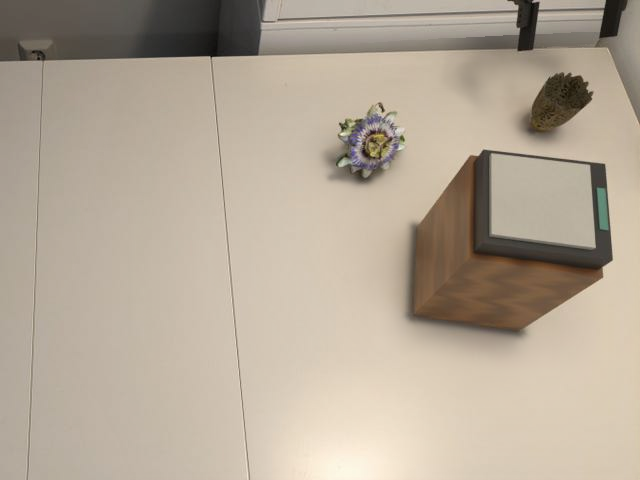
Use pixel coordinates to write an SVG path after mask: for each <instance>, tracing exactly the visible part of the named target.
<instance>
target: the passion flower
mask: <svg viewBox="0 0 640 480" xmlns="http://www.w3.org/2000/svg"><path fill="white" fill-rule="evenodd" d="M377 105H378V107H377ZM378 108H379V109H381V111H380V112H381V113H382V114H383V113H385V112H386V108H385V106H384V105H383V102H381V101H380V102H379V101H378V102H376V104H372V105H371V106H370V108H369V109H368V111H367V112H366V115H365V117H363V118H356V119H353V118H350V117H348V118H345V119H344V123H342V122H340V121H339V122H338V126H339V127H340V129H341V131H340V132H339V133H337V138H338V139H339V140H340V141H342V142H343V143H345V144H346V145H348V149H347V152H346V153H344V154H341V155H340V156H339V157H337V158H336V160H335V163H334V166H335V167H337V168H343V167H345V166H348V165H349V172H350V174H351V175H353V174H355V173H356V172H357V171H360V174H361V177H362V178H363V179H366V178H368V177H369V176H370V175H371V174H372V172H373V171H374V169H378V167H379V169H381V170H385V171H387V170H389V167H390V164H391V163H392V162H391V161H390V159H391V160H393V161H395V158H394V155H395V153H396V152H400V151H403V150H404V149H406V148H407V143H406V142H405V141H406V139H405V136H404V134H405V132H406V128H404V127H403V126H400V125H395V122H394V121H395V119H396V117H397V115H398V113H399V111H398V110H396V109H394V110H391V111H389V112H388V113H386V114H385V116H384V117H383V116H382V115H379V114H380V113H379V112H378ZM350 123H351V124H353V123H355V124H353V125H351V126H350Z"/></svg>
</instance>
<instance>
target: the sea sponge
mask: <svg viewBox="0 0 640 480" xmlns="http://www.w3.org/2000/svg"><path fill="white" fill-rule="evenodd" d="M589 85H590V83H589V81H588V80H587V81H585V79H584V78H583V76H582V75H581V74H580V75H579V74H578V75H574V76H573V73H572V72H568V73H567V74H566V75H565V73H564V71H562V72H559V73H558V72H556V73H555V74H554V75H552V76H549V77H548V78H547V80H546V81H544V84H543V86H541V88H540V90H539V91H538V93H537V95H536V97H535V99H534V100H533V102H532V105H531V110H530V115H531V118H530V120H529V121H530V123H529V124H530V126H531V128H532V129H533V130H535V131H537V132H546V131H549V130H550V129H553V128H557V127H560V126H563V125H564V124H566V123H568V122H569V121H570V120H571V119H572V118H574V117H575V116H576V115H577V114H578V113H580V112H581V111H582V110H583V109H584V108H586V106H588V104H590V103H591V102H592V101H593V95H594V93H595V91H594V90H590V91H589V89H587V88H588V87H589Z"/></svg>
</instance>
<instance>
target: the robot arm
mask: <svg viewBox="0 0 640 480" xmlns="http://www.w3.org/2000/svg"><path fill="white" fill-rule="evenodd" d="M506 1H507V2H513V4H514V5H515V6H517V7H518V8H517V16H516V22H515V23H516V24H515V26H516V29H519V32H518V41H517V50H516V52H529V51H533V50H534V46H535V40H536V33H537V26H538V17H539V11H540V3H541V1H535V0H506ZM534 1H535V2H534ZM627 5H628V0H605V2H604V8H603V14H602V19H601V24H600V25H601V26H600V30H599V36H598V39H604V38H614V37H617V36H618V33H619V29H620V24H621V18H622V13H623V12H625V10H626V9H627Z"/></svg>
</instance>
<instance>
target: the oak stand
mask: <svg viewBox="0 0 640 480" xmlns="http://www.w3.org/2000/svg"><path fill="white" fill-rule="evenodd" d="M478 156H479V155H474V154H470V155H469V156H468V157H467V159H466V160H465V161H464V163H463V165H462V166H461V167H460V168H459V170H458V171H457V172H456V173H455V175H454V177H453V178H452V179H451V181H449V182H448V185H447V186H446V188H445V189H444V190H443V191H442V193H441V194H440V196H439V197H438V198H437V199H436V200H435V202H434V204H433V205H432V206H431V207H430V209H429V210H428V212H427V213H426V214H425V216H424V217H423V218H422V220H421V222H420V223H419V224H418V226H417V227H416V239H415V240H416V241H415V261H414V263H415V265H414V284H413V285H414V287H413V309H412V315H413V316H415V317H421V318H429V319H435V320H442V321H449V322H455V323H463V324H470V325H477V326H484V327H489V328H496V329H503V330H509V331H510V330H511V331H517V332H520V331H522V330H524V329H525V328H526V327H528V326H530V325H531V324H533V323H534V322H536V321H538V320H539V319H540V318H542V317H544V316H545V315H548V313H550V312H552V311H554V310H555V309H557V308H558V307H559V306H562V305H563V304H565V303H566V302H567V301H569V300H571V299H572V298H574V297H575V296H577V295H579V294H580V293H582V292H583V291H584V290H586V289H588V288H589V287H591V286H593V285H594V284H596V283H597V282H599V281H601V280H602V279H603V278H604V267H602V268H601V269H599V270H598V269H590V268H583V267H576V266H568V265H561V264H554V263H546V262H539V261H531V260H524V259H517V258H509V257H502V256H494V255H487V254H480V253H474V161H475V160H476V158H477V157H478Z"/></svg>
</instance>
